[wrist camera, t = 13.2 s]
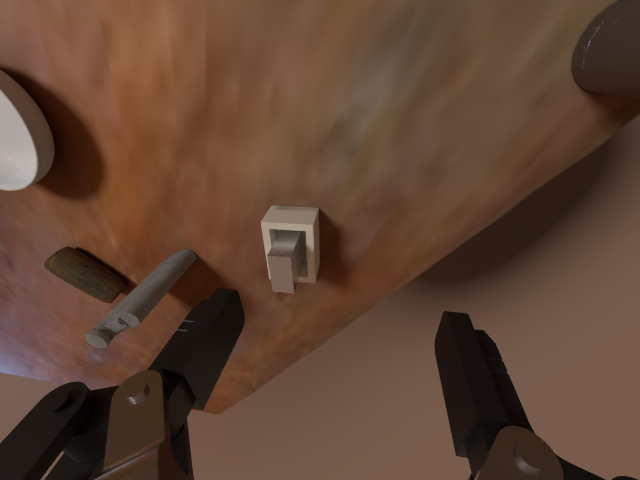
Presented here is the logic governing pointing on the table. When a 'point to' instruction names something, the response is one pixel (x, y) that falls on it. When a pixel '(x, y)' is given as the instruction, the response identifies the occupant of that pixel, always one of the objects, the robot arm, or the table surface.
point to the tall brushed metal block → (286, 260)
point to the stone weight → (85, 274)
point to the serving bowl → (22, 138)
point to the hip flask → (141, 299)
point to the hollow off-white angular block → (297, 221)
